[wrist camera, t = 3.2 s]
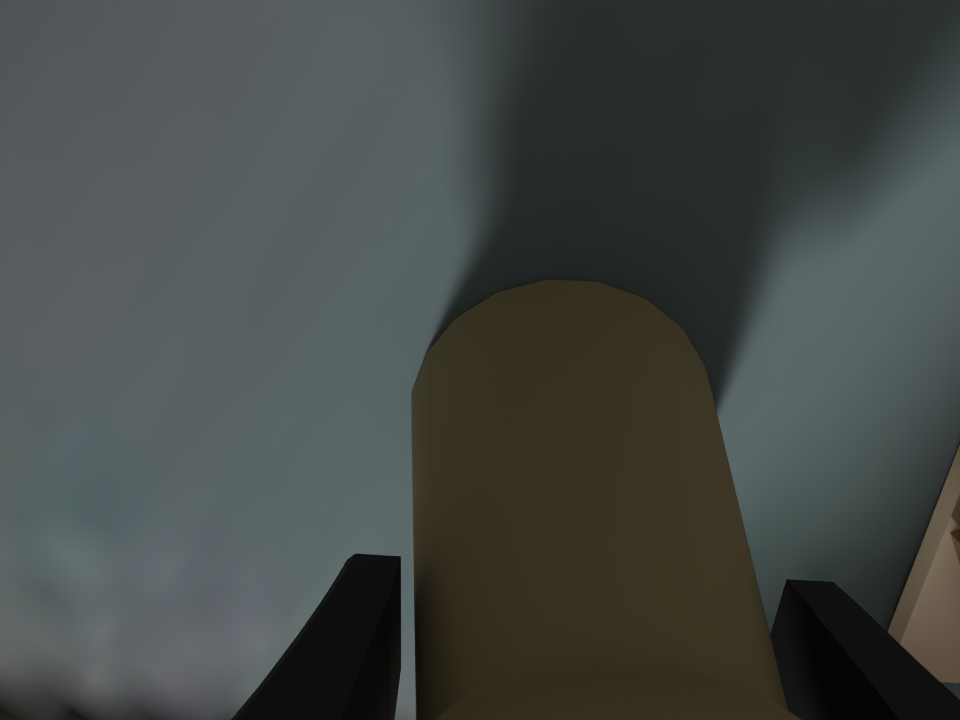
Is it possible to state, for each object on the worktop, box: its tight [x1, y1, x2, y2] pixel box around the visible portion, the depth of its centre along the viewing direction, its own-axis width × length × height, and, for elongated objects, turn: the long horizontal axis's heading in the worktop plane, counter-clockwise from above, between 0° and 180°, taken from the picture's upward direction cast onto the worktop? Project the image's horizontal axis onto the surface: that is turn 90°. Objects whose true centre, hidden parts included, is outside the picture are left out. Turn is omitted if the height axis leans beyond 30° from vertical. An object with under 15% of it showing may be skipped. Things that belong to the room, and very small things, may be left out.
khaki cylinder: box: [412, 279, 801, 720], centre depth 10 cm, size 6×6×11 cm
